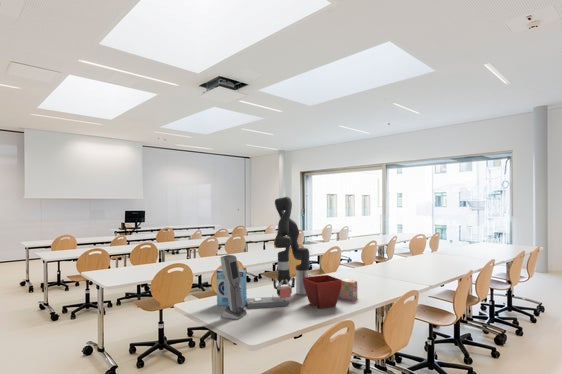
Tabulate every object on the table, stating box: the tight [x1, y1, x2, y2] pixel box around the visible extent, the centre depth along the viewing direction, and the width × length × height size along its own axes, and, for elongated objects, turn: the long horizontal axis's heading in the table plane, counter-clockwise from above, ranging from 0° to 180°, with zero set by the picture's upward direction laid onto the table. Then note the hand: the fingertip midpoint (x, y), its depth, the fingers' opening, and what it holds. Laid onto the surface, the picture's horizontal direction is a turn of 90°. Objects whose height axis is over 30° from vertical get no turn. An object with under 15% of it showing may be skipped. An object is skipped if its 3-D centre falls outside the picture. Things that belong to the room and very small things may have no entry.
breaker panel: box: [246, 296, 289, 309], centre depth 223 cm, size 26×12×4 cm, turn 100°
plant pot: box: [303, 274, 342, 309], centre depth 221 cm, size 19×19×17 cm
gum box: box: [216, 268, 248, 308], centre depth 223 cm, size 20×5×23 cm, turn 72°
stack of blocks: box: [338, 278, 358, 301], centre depth 239 cm, size 21×6×12 cm, turn 48°
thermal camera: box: [220, 254, 248, 321], centre depth 203 cm, size 12×13×35 cm
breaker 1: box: [253, 297, 262, 302], centre depth 222 cm, size 4×5×2 cm
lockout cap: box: [279, 285, 292, 299], centre depth 215 cm, size 7×8×5 cm
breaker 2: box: [271, 294, 280, 301], centre depth 225 cm, size 4×5×2 cm
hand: (284, 294), depth 214 cm, fingers closed on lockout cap, 6 cm apart
